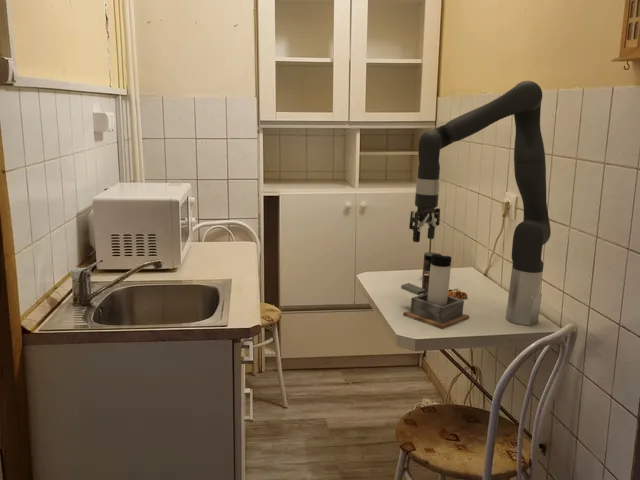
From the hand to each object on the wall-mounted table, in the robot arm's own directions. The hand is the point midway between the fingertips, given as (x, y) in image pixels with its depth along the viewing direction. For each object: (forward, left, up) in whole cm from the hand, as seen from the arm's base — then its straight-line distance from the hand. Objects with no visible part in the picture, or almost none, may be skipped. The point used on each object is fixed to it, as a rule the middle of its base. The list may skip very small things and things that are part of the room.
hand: (423, 240), depth 199 cm
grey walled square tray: (-12, +7, -22) cm, 26 cm away
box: (+4, -13, -22) cm, 26 cm away
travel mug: (-12, +7, -21) cm, 26 cm away
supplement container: (+13, -26, -22) cm, 37 cm away
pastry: (-4, -14, -23) cm, 27 cm away
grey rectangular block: (-2, +7, -16) cm, 17 cm away
